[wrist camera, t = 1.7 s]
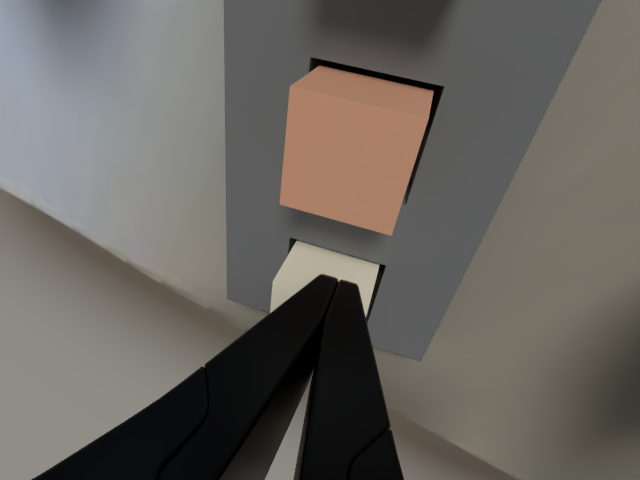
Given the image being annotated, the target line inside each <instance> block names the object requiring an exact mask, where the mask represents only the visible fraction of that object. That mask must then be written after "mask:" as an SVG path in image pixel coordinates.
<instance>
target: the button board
mask: <svg viewBox="0 0 640 480" xmlns="http://www.w3.org/2000/svg"><path fill="white" fill-rule="evenodd" d="M600 2H601V0H224V55H225V139H226V223H227V299H229V300H233V301H236V302H239V303H242V304H245V305H248V306H251V307H254V308H257V309H260V310H263V311H266V312H269V313H270V306H271V295H272V284H273V280H274V278H275V277H276V275H277V273H278V271H279V270H280V268H281V266H282V265H283V263H284V261H285V260H286V258H287V256H288V254H289V253H290V251H291V249H292V248H293V246H294V244H295V242H296V241H297V240H300V241H304V242H307V243H311V244H314V245H318V246H321V247H324V248H328V249H331V250H335V251H338V252H341V253H345V254H348V255H352V256H355V257H358V258H362V259H365V260H369V261H372V262H375V263H379V264H382V265H384V268H383V271H382V274H381V277H380V280H379V284H378V287H377V290H376V293H375V296H374V299H373V302H372V305H371V307H370V306H369V308H368V312H367V315H366V321H367V326H368V330H369V334H370V339H371V343H372V346H374V347H377V348H380V349H383V350H386V351H389V352H392V353H395V354H398V355H401V356H405V357H408V358H411V359H414V360H417V361H420V362H421V360H422V358H423V356H424V354H425V352H426V350H427V348H428V346H429V344H430V342H431V340H432V338H433V336H434V334H435V332H436V330H437V328H438V326H439V324H440V322H441V320H442V318H443V316H444V314H445V312H446V310H447V308H448V306H449V304H450V302H451V300H452V298H453V296H454V294H455V292H456V290H457V288H458V286H459V284H460V282H461V280H462V278H463V276H464V274H465V272H466V270H467V268H468V266H469V264H470V262H471V260H472V258H473V256H474V254H475V252H476V250H477V248H478V246H479V244H480V242H481V240H482V238H483V236H484V234H485V232H486V230H487V228H488V226H489V224H490V222H491V220H492V218H493V216H494V214H495V212H496V210H497V208H498V206H499V204H500V202H501V200H502V198H503V196H504V194H505V192H506V190H507V188H508V186H509V184H510V182H511V180H512V178H513V176H514V174H515V172H516V170H517V168H518V166H519V164H520V162H521V160H522V158H523V156H524V154H525V152H526V150H527V148H528V146H529V144H530V142H531V140H532V138H533V136H534V134H535V132H536V130H537V128H538V126H539V124H540V122H541V120H542V118H543V116H544V114H545V112H546V110H547V108H548V106H549V104H550V102H551V100H552V98H553V96H554V94H555V92H556V90H557V88H558V86H559V84H560V82H561V80H562V78H563V76H564V74H565V72H566V70H567V68H568V66H569V64H570V62H571V60H572V58H573V56H574V54H575V52H576V50H577V48H578V46H579V44H580V42H581V40H582V38H583V36H584V34H585V32H586V30H587V28H588V26H589V24H590V22H591V20H592V18H593V16H594V14H595V12H596V10H597V8H598V6H599V4H600ZM323 60H326V61H331V62H335V63H340V64H344V65H349V66H354V67H358V68H363V69H367V70H372V71H376V72H381V73H385V74H390V75H394V76H399V77H403V78H408V79H413V80H417V81H422V82H426V83H431V84H435V85H440V86H442V87H441V90H440V94H439V97H438V100H437V103H436V106H435V109H434V112H433V115H432V118H431V122H430V125H429V128H428V131H427V134H426V137H425V140H424V143H423V147H422V150H421V153H420V156H419V159H418V162H417V165H416V168H415V171H414V175H413V178H412V181H411V184H410V185H409V184H408V186H407V189H406V192H405V195H404V198H403V201H402V205H401V208H400V211H399V214H398V217H397V220H396V224H395V227H394V230H393V233H392V236H390V235H387V234H383V233H380V232H376V231H372V230H369V229H365V228H362V227H358V226H355V225H351V224H348V223H344V222H340V221H337V220H333V219H330V218H326V217H323V216H319V215H316V214H312V213H308V212H305V211H301V210H298V209H294V208H291V207H287V206H284V205H280V193H281V181H282V170H283V158H284V147H285V136H286V124H287V113H288V101H289V90H290V86H291V85H293V84H294V83H295V82H297V81H298V80H300V79H301V78H303V77H304V76H305V75H307V74H308V73H310V72H311V71H312V70H314V69H315V68H317V67H318V66H320V65H322V66H323Z"/></svg>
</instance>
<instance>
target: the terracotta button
mask: <svg viewBox="0 0 640 480" xmlns="http://www.w3.org/2000/svg"><path fill="white" fill-rule="evenodd" d="M433 92H434V90H429V89H425V88H420V87H416V86H411V85H407V84H402V83H398V82H393V81H389V80H384V79H380V78H375V77H371V76H366V75H362V74H357V73H353V72H348V71H344V70H339V69H335V68H331V67H326V66H322V65H320V66H318V67H317V68H315V69H314V70H312V71H311V72H310V73H308V74H307V75H305V76H304V77H303V78H301V79H300V80H298V81H297V82H295V83H294V84H293V85H291V86H290V90H289V101H288V113H287V124H286V136H285V147H284V158H283V170H282V181H281V193H280V205H284V206H287V207H291V208H294V209H298V210H301V211H305V212H308V213H312V214H316V215H319V216H323V217H326V218H330V219H333V220H337V221H340V222H344V223H348V224H351V225H355V226H358V227H362V228H365V229H369V230H372V231H376V232H380V233H383V234H387V235H390V236H392V233H393V230H394V227H395V224H396V220H397V217H398V214H399V211H400V208H401V205H402V201H403V198H404V195H405V192H406V189H407V186H408V183H409V179H410V176H411V173H412V170H413V167H414V164H415V160H416V157H417V154H418V151H419V148H420V145H421V141H422V138H423V135H424V132H425V129H426V126H427V123H428V119H429V114H430V109H431V103H432V98H433Z"/></svg>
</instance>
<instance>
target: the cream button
mask: <svg viewBox="0 0 640 480" xmlns="http://www.w3.org/2000/svg"><path fill="white" fill-rule="evenodd" d="M379 266H380V264H379V263H375V262H372V261H369V260H365V259H362V258H358V257H355V256H352V255H348V254H345V253H341V252H338V251H335V250H331V249H328V248H324V247H321V246H318V245H314V244H311V243H307V242H304V241H300V240H297V241H296V242H295V244H294V246H293V248H292V249H291V251H290V253H289V254H288V256H287V258H286V260H285V261H284V263H283V265H282V266H281V268H280V270H279V271H278V273H277V275H276V277H275V278H274V280H273V284H272V295H271V306H270V313H271V312H272V311H274V310H275V309H276V308H277V307H279V306H280V305H281V304H282V303H284V302H285V301H286V300H288V299H289V298H290V297H291V296H293V295H294V294H295V293H297V292H298V291H299V290H300V289H302V288H303V287H304V286H305V285H307V284H308V283H309V282H311V281H312V280H313V279H314V278H316V277H317V276H318V275H320V274H325V275H328V276H332V277H335V278H337V279H338V282H339V281H340V280H346V281H349V282H353V283H356V284H357V285H358V287H359V291H360V295H361V299H362V304H363V308H364V313H365V317H366V315H367V312H368V308H369V304H370V301H371V297H372V293H373V289H374V285H375V281H376V277H377V273H378V270H379Z"/></svg>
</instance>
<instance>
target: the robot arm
mask: <svg viewBox="0 0 640 480" xmlns="http://www.w3.org/2000/svg"><path fill="white" fill-rule="evenodd" d="M312 372H313V375H312ZM311 375H312V380H311V385H310V390H309V396H308V401H307V407H306V412H305V418H304V424H303V429H302V435H301V441H300V446H299V452H298V457H297V463H296V469H295V475H294V480H404V478H403V474H402V470H401V467H400V463H399V459H398V455H397V451H396V447H395V443H394V438H393V434H392V431H391V430H389V429H390V421H389V417H388V413H387V408H386V404H385V400H384V395H383V391H382V387H381V382H380V378H379V374H378V369H377V365H376V360H375V356H374V352H373V347H372V343H371V339H370V334H369V330H368V326H367V321H366V317H365V313H364V308H363V304H362V299H361V295H360V291H359V287H358V285H357V284H356V283H353V282H349V281H346V280H340V281H339V282H338V279H337V278H335V277H332V276H328V275H325V274H320V275H318V276H317V277H316V278H314V279H313V280H312V281H311V282H309V283H308V284H307V285H305V286H304V287H303V288H302V289H300V290H299V291H298V292H297V293H295V294H294V295H293V296H291V297H290V298H289V299H288V300H286V301H285V302H284V303H282V304H281V305H280V306H279V307H277V308H276V309H275V310H274V311H272V312H271V313H270V314H268V315H267V316H266V317H265V318H263V319H262V320H261V321H259V322H258V323H257V324H256V325H254V326H253V327H252V328H251V329H249V330H248V331H247V332H245V333H244V334H243V335H242V336H240V337H239V338H238V339H237V340H235V341H234V342H233V343H231V344H230V345H229V346H228V347H226V348H225V349H224V350H222V351H221V352H220V353H219V354H217V355H216V356H215V357H214V358H212V359H211V360H210V361H208V362H207V363H206V364H205V368H204V367H200V369H198V370H197V371H195V372H194V373H193V374H192V375H190V376H189V377H188V378H186V379H185V380H184V381H182V382H181V383H180V384H179V385H177V386H176V387H175V388H173V389H172V390H170V391H169V392H168V393H166V394H165V395H164V396H162V397H161V398H160V399H158V400H156V401H155V402H153V403H152V404H150V405H149V406H147V407H146V408H145V409H143V410H141V411H140V412H138V413H137V414H135V415H134V416H132V417H131V418H129V419H128V420H126V421H125V422H123V423H121V424H120V425H118V426H117V427H115V428H114V429H112V430H110V431H109V432H107V433H106V434H104V435H102V436H101V437H99V438H98V439H96V440H95V441H93V442H91V443H90V444H88V445H87V446H85V447H83V448H82V449H80V450H79V451H77V452H75V453H74V454H72V455H71V456H69V457H68V458H66V459H64V460H63V461H61V462H60V463H58V464H56V465H55V466H53V467H52V468H50V469H49V470H47V471H45V472H44V473H42V474H40V475H39V476H37V477H35V478H33V479H32V480H264V479H265V477H266V475H267V473H268V471H269V468H270V466H271V464H272V462H273V460H274V458H275V455H276V453H277V451H278V449H279V446H280V444H281V442H282V440H283V438H284V435H285V433H286V431H287V429H288V427H289V425H290V422H291V420H292V418H293V416H294V414H295V411H296V409H297V407H298V405H299V403H300V400H301V398H302V396H303V394H304V392H305V389H306V387H307V385H308V382H309V380H310V378H311Z"/></svg>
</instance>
